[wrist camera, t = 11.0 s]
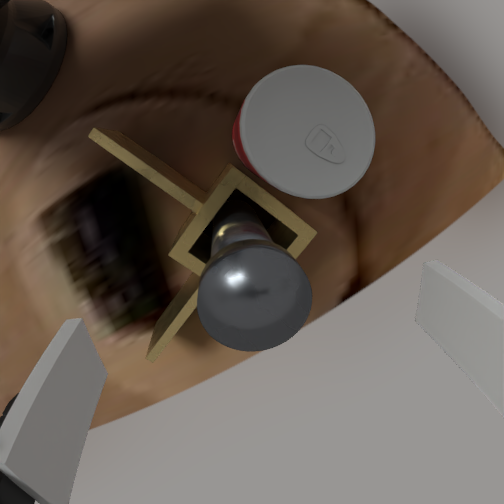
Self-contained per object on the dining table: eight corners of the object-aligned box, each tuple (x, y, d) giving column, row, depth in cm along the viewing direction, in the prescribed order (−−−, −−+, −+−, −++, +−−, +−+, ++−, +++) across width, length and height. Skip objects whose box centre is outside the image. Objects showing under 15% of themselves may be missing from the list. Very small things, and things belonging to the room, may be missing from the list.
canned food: (299, 193, 27) (347, 220, 17) (217, 160, 25) (216, 167, 15) (330, 119, 25) (393, 106, 15) (250, 83, 23) (271, 41, 13)
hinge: (53, 252, 26) (19, 279, 20) (140, 100, 23) (115, 85, 16) (188, 342, 31) (184, 386, 24) (294, 212, 28) (317, 232, 21)
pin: (196, 227, 27) (174, 317, 13) (230, 183, 26) (245, 225, 12) (240, 257, 29) (263, 366, 14) (273, 216, 28) (334, 291, 13)
